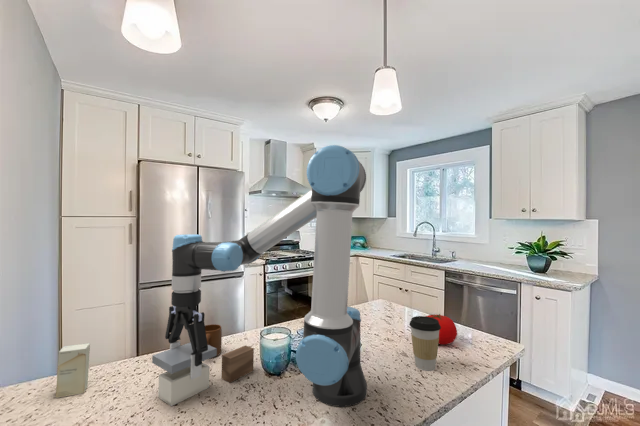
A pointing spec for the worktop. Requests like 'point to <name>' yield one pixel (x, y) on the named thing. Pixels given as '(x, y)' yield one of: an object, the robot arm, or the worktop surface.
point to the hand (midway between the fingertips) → (184, 371)
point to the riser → (237, 363)
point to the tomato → (445, 329)
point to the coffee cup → (425, 341)
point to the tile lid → (179, 357)
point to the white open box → (182, 385)
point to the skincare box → (72, 370)
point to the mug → (214, 336)
